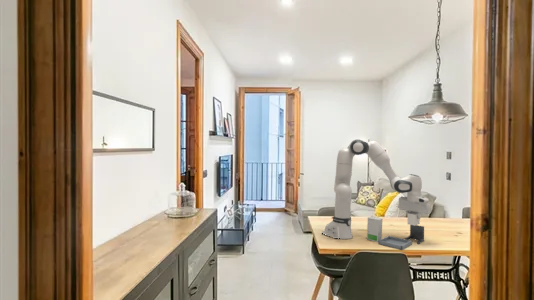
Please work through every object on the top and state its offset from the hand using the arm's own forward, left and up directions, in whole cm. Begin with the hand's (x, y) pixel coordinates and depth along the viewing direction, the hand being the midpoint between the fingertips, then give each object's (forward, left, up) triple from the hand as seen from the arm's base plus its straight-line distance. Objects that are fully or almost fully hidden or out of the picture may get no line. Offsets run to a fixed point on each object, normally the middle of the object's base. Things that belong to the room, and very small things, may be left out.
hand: (413, 218), depth 207 cm
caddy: (0, 0, -4) cm, 4 cm away
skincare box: (-20, -17, -16) cm, 31 cm away
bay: (0, 0, -16) cm, 16 cm away
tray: (-6, -16, -16) cm, 23 cm away
